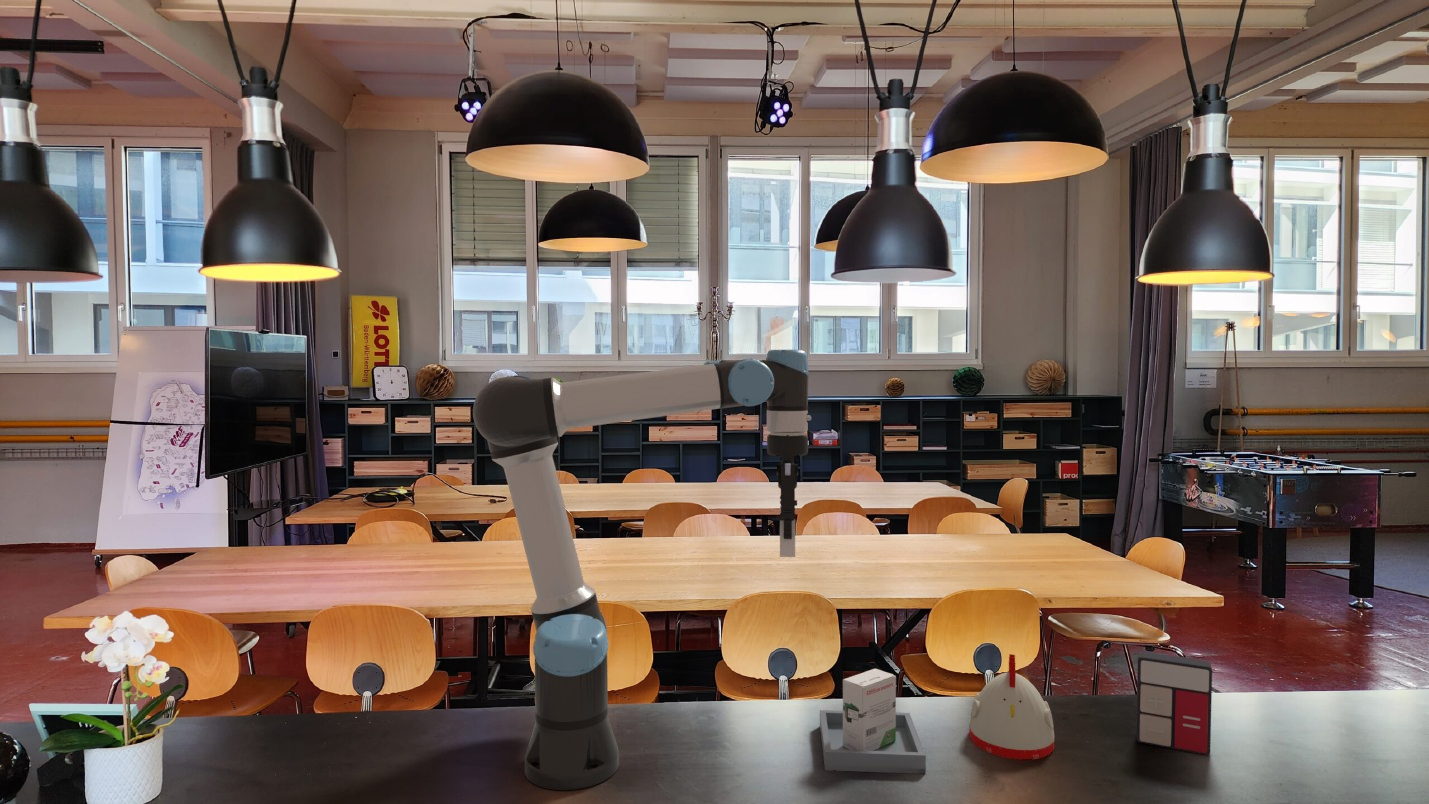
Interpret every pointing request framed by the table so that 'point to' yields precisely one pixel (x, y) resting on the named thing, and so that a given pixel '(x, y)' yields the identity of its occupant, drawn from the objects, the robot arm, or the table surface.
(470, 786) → the table surface
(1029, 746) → the kitchen timer
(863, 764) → the tray
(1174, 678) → the calculator
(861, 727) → the ink box
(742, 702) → the table surface
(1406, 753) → the table surface
